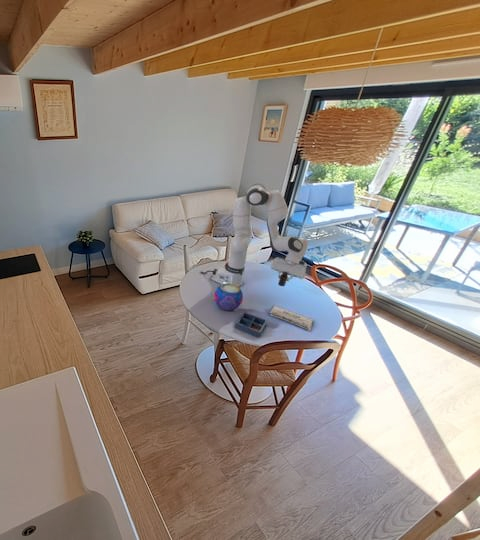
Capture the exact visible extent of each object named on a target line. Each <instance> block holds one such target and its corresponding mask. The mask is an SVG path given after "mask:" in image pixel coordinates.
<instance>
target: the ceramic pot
mask: <svg viewBox="0 0 480 540" xmlns="http://www.w3.org/2000/svg"><path fill="white" fill-rule="evenodd" d="M213 297H214V298H213V299H214V302H215V304H216V306H217V307H219V308H220V309H222V310H225V311H234V310H236V309H238V308H239V307H240V306H241V305H242V303H243V301H244V294H243V291H242V289H241V288H240V286H239V287H238V286H236V285H234V284H231V283H224V284H219V285H218V286H217V287H216V289H215V291H214V292H213Z"/></svg>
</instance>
